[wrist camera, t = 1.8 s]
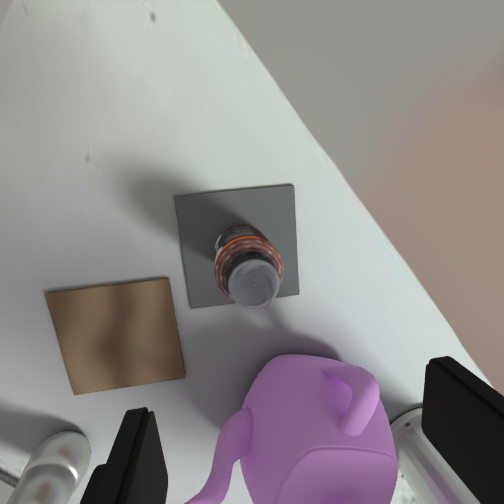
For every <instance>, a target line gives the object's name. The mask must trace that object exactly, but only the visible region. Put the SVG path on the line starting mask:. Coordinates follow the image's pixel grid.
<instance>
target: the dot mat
mask: <svg viewBox="0 0 504 504" xmlns="http://www.w3.org/2000/svg"><path fill="white" fill-rule="evenodd" d="M174 200H175V206H176V213H177V220H178V226H179V233H180V239H181V246H182V252H183V259H184V265H185V272H186V278H187V285H188V292H189V298H190V305H191V309H194V308H201V307H209V306H217V305H224V304H232V303H235V302H233V301H231V300H230V299H228V298H227V297H226V296H225V295H224V294H223V293H222V292H221V291H220V289H219V287H218V285H217V282H216V279H215V253H214V252H215V245H216V241H217V239H218V237H219V236H220V234H221V233H222V232H223V231H224V230H225V229H226V228H228V227H230V226H233V225H236V224H248V225H251V226H253V227H255V228H257V229H258V230H259V231H260V232H262V234H263V235H264V236H265V237H266V238H267V239H268V241H269V242H270V243H271V244H272V245H273V246H274V247H275V249H276V250H277V251H278V253H279V255H280V257H281V259H282V262H283V269H284V273H283V279H282V282H281V284H280V286H279V290H278V293H277V294H276V296H275V298H278V297H285V296H293V295H299V281H298V259H297V238H296V216H295V194H294V185H290V186H279V187H268V188H257V189H246V190H235V191H224V192H213V193H202V194H192V195H181V196H174Z"/></svg>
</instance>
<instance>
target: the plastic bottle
mask: <svg viewBox="0 0 504 504" xmlns="http://www.w3.org/2000/svg"><path fill="white" fill-rule="evenodd" d="M91 455H92V454H91V447H90V443H89V441H88V440H87V439H86V437H84V436H83V435H82V434H80V433H77V432H73V431H64V432H60V433H57V434H55V435H53V436H51V437H49V438H47V439H46V440H45V441H43V442H42V444H41V445H40V446H39V447H38V448H37V449H36V450H35V451H34V453H33V454H32V455H31V457H30V459H29V461H28V463H27V465H26V467H25V469H24V471H23V473H22V476H21V478H20V480H19V482H18V484H17V486H16V487H15V489H14V491H13V493H12V495H11V496H10V498H9V500H8V502H7V503H6V504H67V503H68V501H69V499H70V497H71V495H72V494H73V492H74V491H75V490H76V488H77V487H78V485H79V484H80V482H81V480H82V479H83V477H84V475H85V474H86V472H87V470H88V466H89V463H90V459H91Z"/></svg>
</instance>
